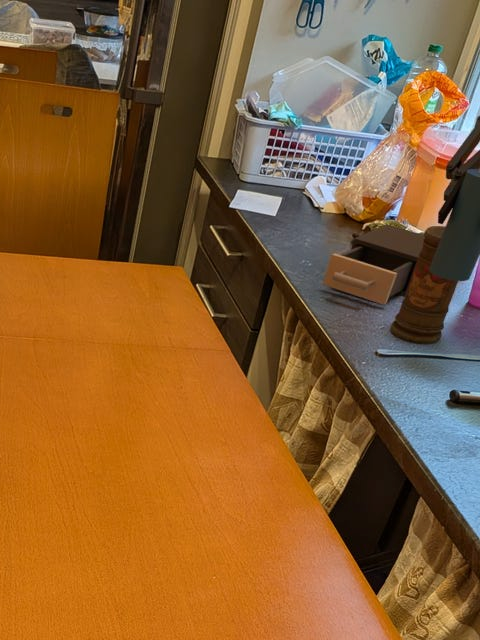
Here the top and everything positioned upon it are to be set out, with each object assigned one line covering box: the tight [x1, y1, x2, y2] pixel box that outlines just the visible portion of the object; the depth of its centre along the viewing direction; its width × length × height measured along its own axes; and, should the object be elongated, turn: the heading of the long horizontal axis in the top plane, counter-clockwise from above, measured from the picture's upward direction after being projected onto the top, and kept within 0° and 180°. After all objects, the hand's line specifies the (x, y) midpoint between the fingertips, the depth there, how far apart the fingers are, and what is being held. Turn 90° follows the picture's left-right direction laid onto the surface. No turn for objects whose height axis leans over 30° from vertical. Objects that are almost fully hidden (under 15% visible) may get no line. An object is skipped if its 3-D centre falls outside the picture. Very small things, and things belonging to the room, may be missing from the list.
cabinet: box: [350, 224, 425, 298], centre depth 192 cm, size 17×14×8 cm
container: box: [390, 225, 459, 345], centre depth 165 cm, size 9×9×18 cm
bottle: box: [429, 169, 480, 282], centre depth 145 cm, size 6×6×18 cm
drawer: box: [322, 245, 416, 306], centre depth 184 cm, size 20×13×6 cm, turn 139°
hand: (462, 224), depth 144 cm, fingers closed on bottle, 6 cm apart
